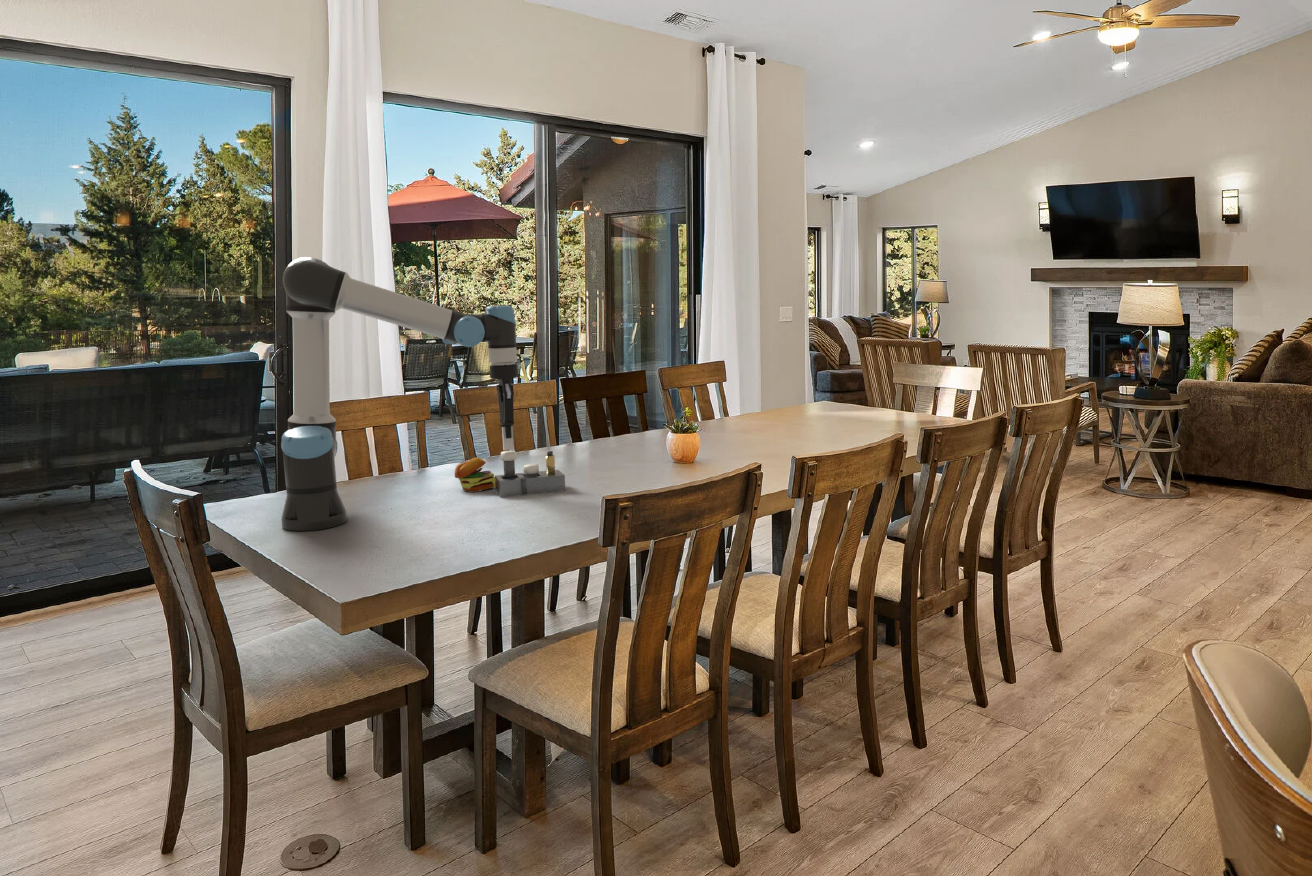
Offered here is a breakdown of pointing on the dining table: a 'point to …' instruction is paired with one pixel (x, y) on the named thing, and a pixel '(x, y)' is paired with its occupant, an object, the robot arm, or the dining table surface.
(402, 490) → the dining table surface
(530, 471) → the knob
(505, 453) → the knob
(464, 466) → the cheeseburger
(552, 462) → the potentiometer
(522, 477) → the mount
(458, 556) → the dining table surface
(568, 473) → the dining table surface
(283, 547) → the dining table surface
